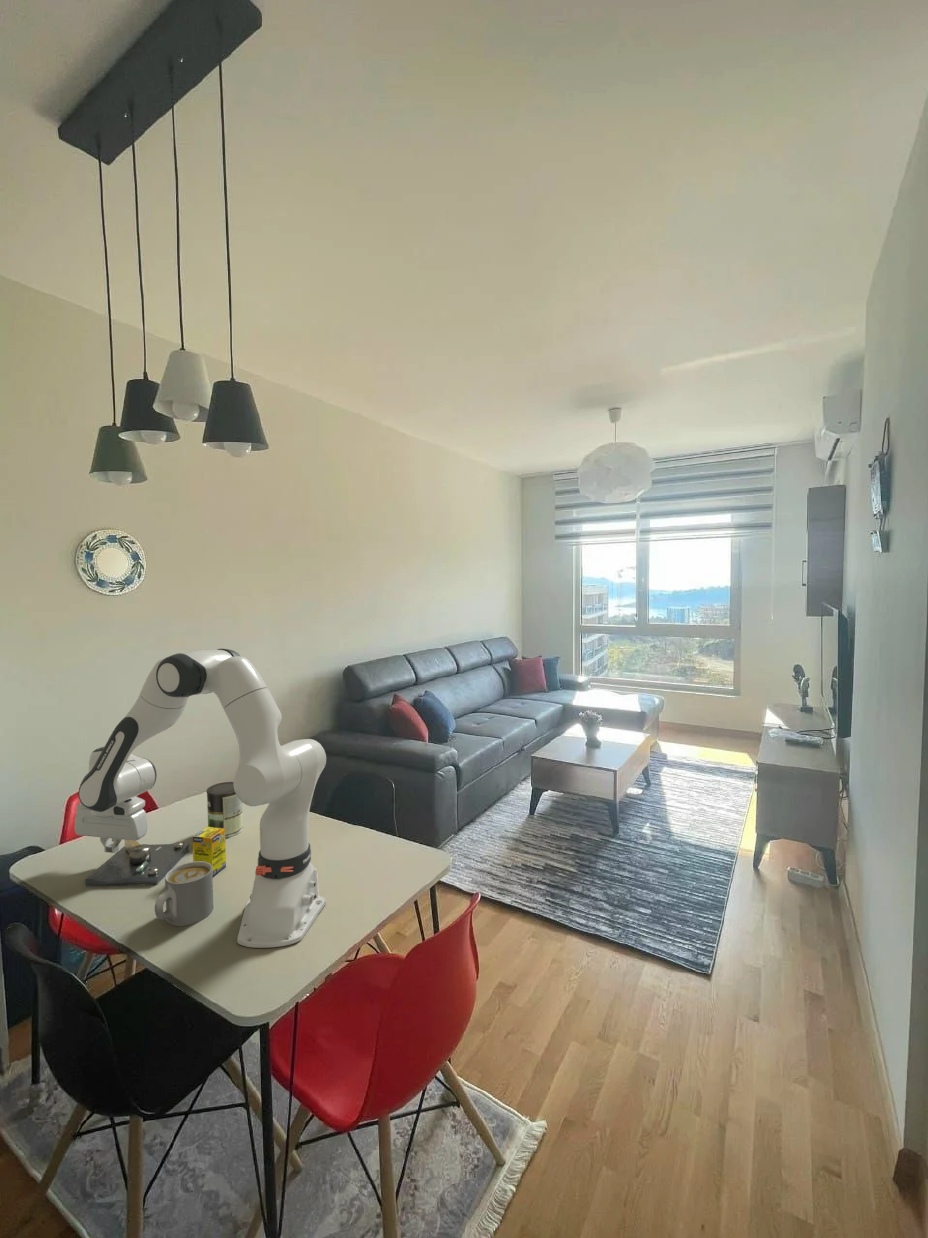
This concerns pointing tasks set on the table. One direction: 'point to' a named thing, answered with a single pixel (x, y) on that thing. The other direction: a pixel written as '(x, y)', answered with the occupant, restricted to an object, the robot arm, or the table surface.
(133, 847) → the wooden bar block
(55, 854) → the table surface
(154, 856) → the plate
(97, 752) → the robot arm
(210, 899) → the coffee mug
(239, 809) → the coffee can
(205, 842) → the supplement box
